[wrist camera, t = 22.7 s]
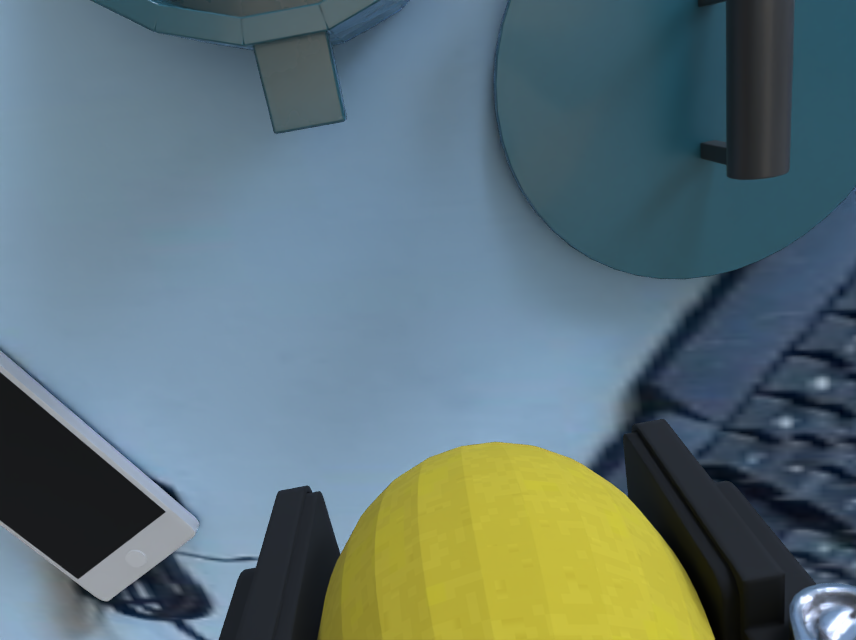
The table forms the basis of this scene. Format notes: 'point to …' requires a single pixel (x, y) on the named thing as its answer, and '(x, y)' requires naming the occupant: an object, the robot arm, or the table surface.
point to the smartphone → (79, 493)
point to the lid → (679, 125)
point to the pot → (273, 44)
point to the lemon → (508, 557)
